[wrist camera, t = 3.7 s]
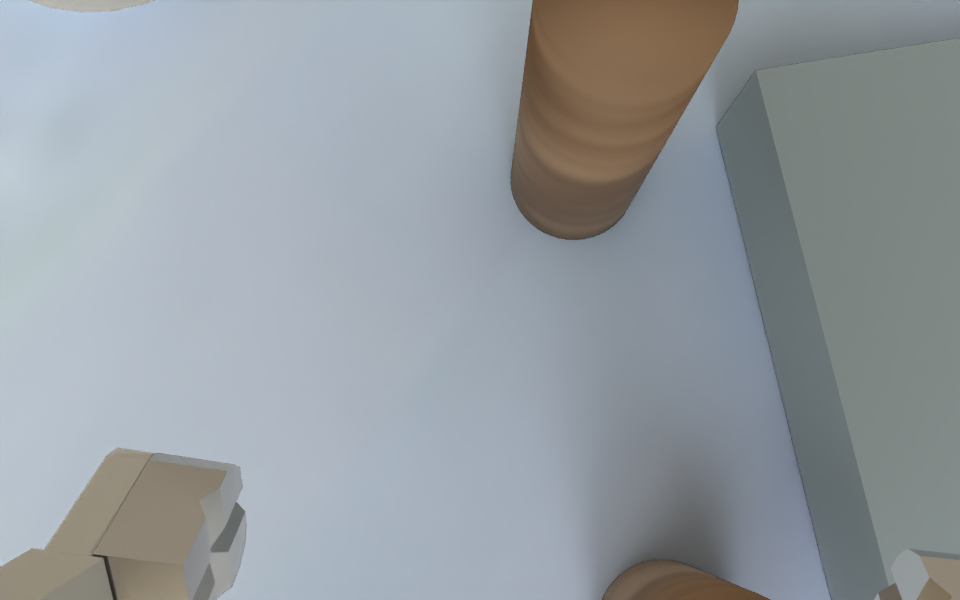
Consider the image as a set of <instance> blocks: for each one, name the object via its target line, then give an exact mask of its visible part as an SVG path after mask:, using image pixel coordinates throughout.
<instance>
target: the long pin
mask: <svg viewBox="0 0 960 600" xmlns="http://www.w3.org/2000/svg"><path fill="white" fill-rule="evenodd" d="M738 1H739V0H533V3H532V11H531V19H530V27H529V35H528V43H527V51H526V59H525V67H524V75H523V82H522V90H521V98H520V106H519V114H518V122H517V130H516V138H515V146H514V154H513V162H512V170H511V189H512V193H513V197H514V200H515V202H516V205H517V206H518V208H519V210H520V212H521V213H522V214H523V216H524V217H525V218H526V219H527V220H528V221H529V222H530V223H531V224H532V225H533V226H535V227H536V228H537V229H539V230H541V231H542V232H544V233H546V234H548V235H551V236H554V237H557V238H561V239H568V240H579V239H586V238H591V237H594V236H597V235H599V234H601V233H603V232H605V231H607V230H608V229H610V228H611V227H613V226H614V225H615V224H616V223H617V222H618V221H619V220H620V219H621V218H622V216H623V215H624V214H625V212H626V210H627V209H628V207H629V205H630V204H631V202H632V200H633V198H634V197H635V195H636V193H637V191H638V190H639V188H640V186H641V185H642V183H643V181H644V179H645V178H646V176H647V174H648V173H649V171H650V169H651V167H652V166H653V164H654V162H655V160H656V159H657V157H658V155H659V154H660V152H661V150H662V148H663V147H664V145H665V143H666V142H667V140H668V138H669V136H670V135H671V133H672V131H673V129H674V128H675V126H676V124H677V123H678V121H679V119H680V117H681V116H682V114H683V112H684V110H685V109H686V107H687V105H688V104H689V102H690V100H691V98H692V97H693V95H694V93H695V92H696V90H697V88H698V86H699V85H700V83H701V81H702V79H703V78H704V76H705V74H706V73H707V71H708V69H709V67H710V66H711V64H712V62H713V61H714V59H715V57H716V55H717V54H718V52H719V50H720V48H721V47H722V45H723V43H724V42H725V40H726V38H727V36H728V35H729V33H730V31H731V28H732V26H733V24H734V21H735V18H736V14H737V10H738Z"/></svg>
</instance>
